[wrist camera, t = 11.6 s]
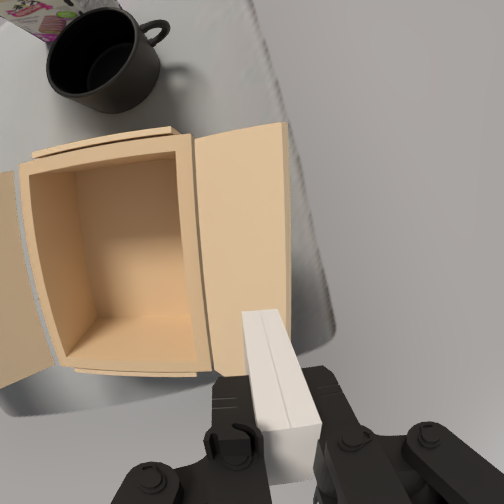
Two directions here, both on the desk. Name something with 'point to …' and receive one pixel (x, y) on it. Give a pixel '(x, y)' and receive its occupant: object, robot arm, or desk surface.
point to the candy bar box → (48, 14)
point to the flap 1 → (17, 299)
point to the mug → (105, 60)
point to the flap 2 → (244, 233)
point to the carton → (119, 253)
